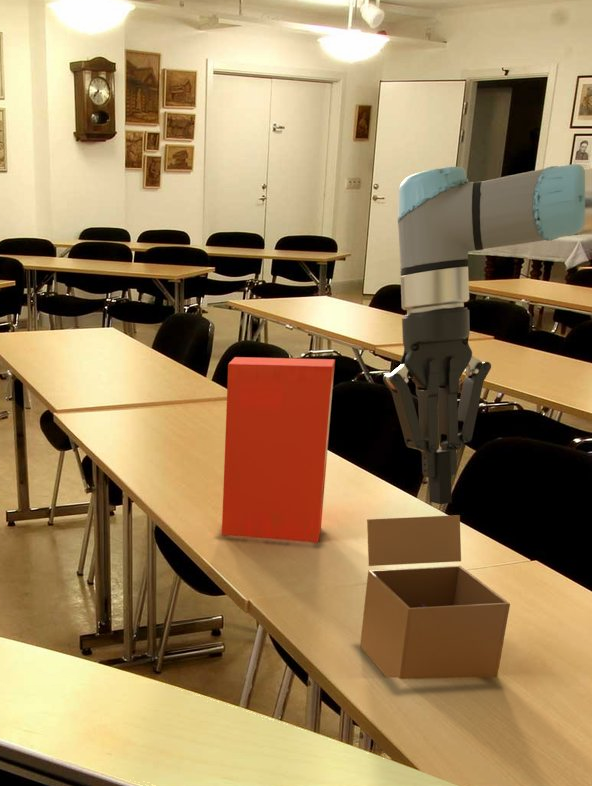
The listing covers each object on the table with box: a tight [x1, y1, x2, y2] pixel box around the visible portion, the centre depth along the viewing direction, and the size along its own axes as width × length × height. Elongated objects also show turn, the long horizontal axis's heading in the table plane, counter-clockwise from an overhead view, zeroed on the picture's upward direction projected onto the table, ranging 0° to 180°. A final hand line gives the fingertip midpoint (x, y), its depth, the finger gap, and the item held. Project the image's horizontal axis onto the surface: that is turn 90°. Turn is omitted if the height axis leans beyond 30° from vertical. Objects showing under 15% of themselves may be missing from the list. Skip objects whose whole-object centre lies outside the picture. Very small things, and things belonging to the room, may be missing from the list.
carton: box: [359, 565, 511, 680], centre depth 119 cm, size 13×13×11 cm
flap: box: [366, 514, 462, 567], centre depth 122 cm, size 6×13×1 cm
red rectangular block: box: [221, 356, 336, 544], centre depth 163 cm, size 8×17×32 cm, turn 71°
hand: (440, 501), depth 115 cm, fingers closed
